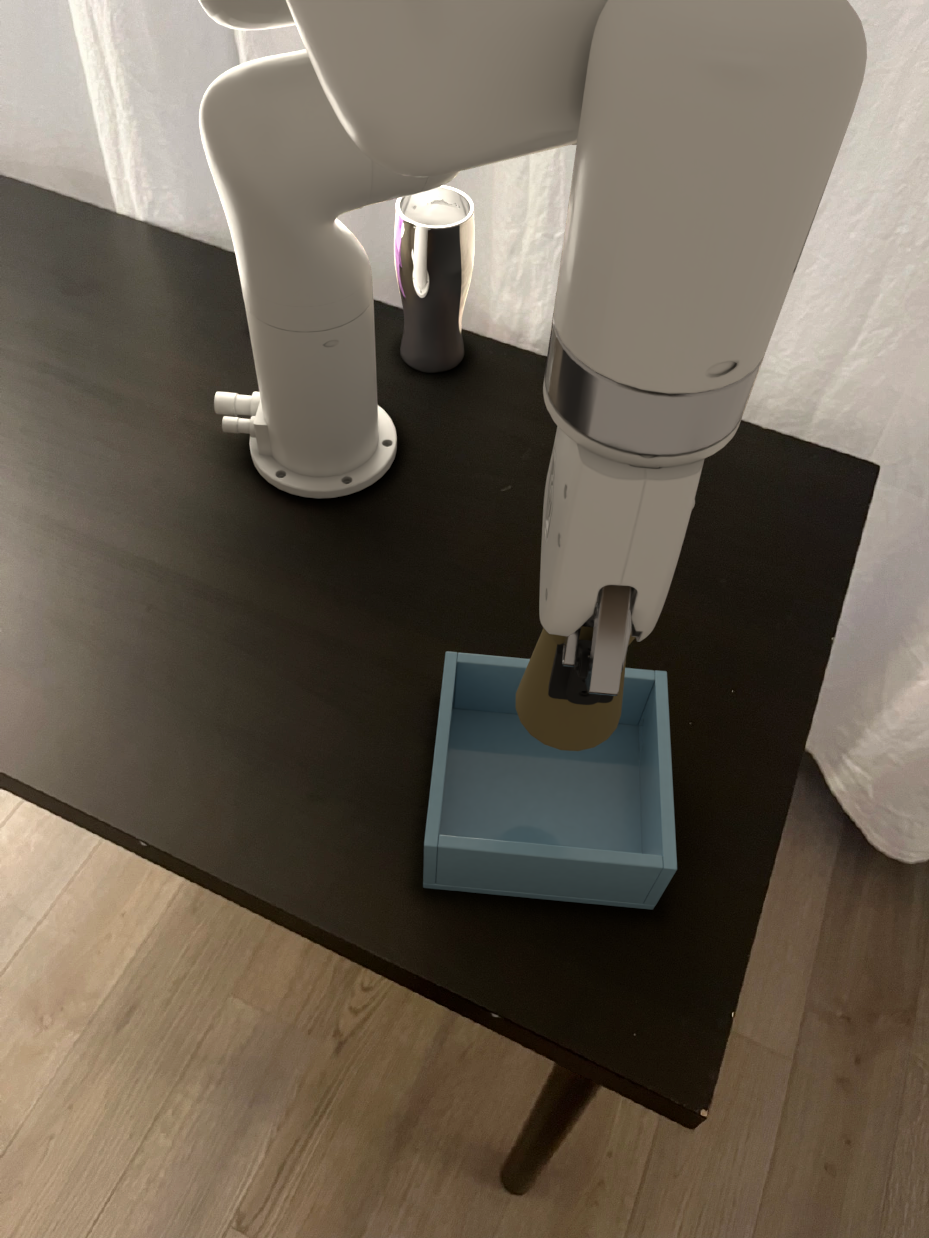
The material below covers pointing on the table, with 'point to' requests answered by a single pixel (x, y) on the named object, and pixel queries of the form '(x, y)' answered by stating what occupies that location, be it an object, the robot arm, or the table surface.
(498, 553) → the table surface
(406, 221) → the beer glass
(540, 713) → the tan pawn
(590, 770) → the blue open box
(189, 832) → the table surface
